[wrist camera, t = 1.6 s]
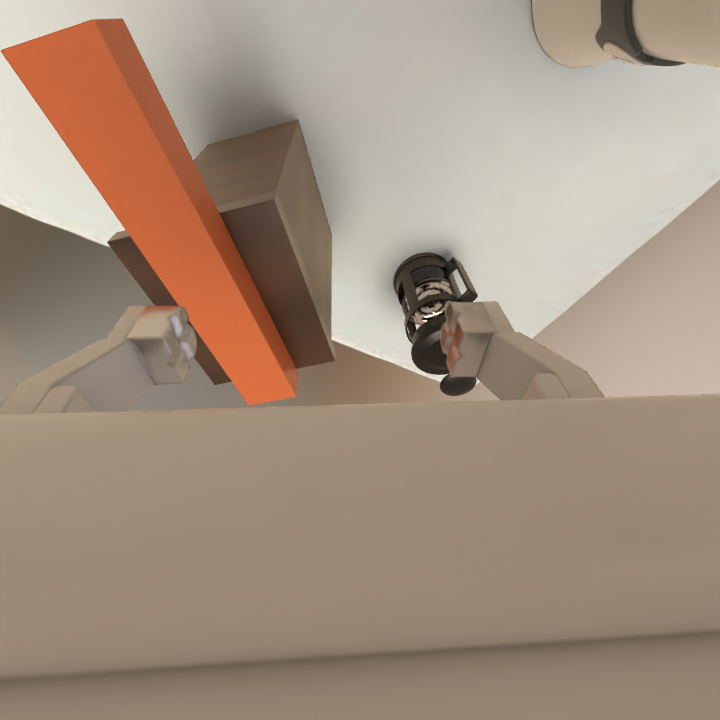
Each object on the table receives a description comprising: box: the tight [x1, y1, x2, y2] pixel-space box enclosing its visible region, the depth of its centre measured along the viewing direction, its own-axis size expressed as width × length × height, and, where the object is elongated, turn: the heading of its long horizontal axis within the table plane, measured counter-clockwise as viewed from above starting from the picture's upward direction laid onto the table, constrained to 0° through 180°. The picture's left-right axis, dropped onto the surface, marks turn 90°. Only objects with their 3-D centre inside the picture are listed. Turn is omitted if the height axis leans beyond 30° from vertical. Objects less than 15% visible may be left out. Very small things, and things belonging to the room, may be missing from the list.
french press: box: [394, 253, 478, 396], centre depth 50 cm, size 12×9×23 cm
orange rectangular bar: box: [1, 19, 298, 405], centre depth 25 cm, size 25×4×3 cm, turn 13°
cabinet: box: [107, 120, 335, 385], centre depth 39 cm, size 15×13×26 cm
